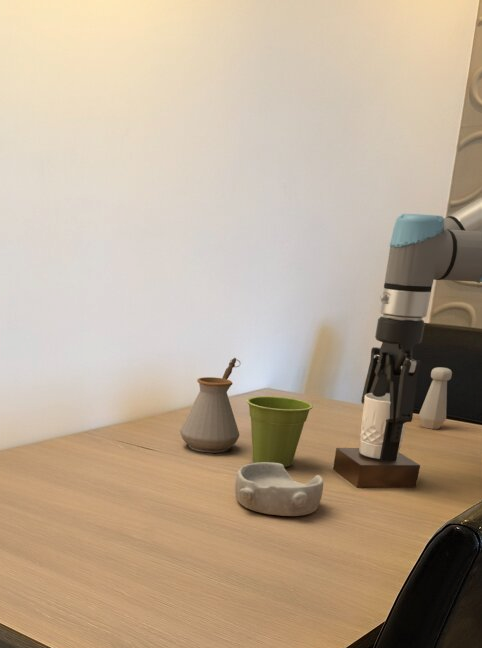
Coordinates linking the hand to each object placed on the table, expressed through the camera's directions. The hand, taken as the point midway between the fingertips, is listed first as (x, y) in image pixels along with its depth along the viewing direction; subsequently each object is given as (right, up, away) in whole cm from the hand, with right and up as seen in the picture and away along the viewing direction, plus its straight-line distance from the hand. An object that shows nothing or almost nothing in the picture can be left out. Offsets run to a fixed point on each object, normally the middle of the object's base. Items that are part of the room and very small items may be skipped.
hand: (377, 452), depth 146 cm
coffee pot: (-27, +5, +19) cm, 34 cm away
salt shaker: (+24, +13, +41) cm, 49 cm away
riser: (0, -4, +2) cm, 5 cm away
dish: (-20, -11, -14) cm, 27 cm away
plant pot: (-18, -1, +7) cm, 19 cm away
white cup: (0, 0, 0) cm, 0 cm away
